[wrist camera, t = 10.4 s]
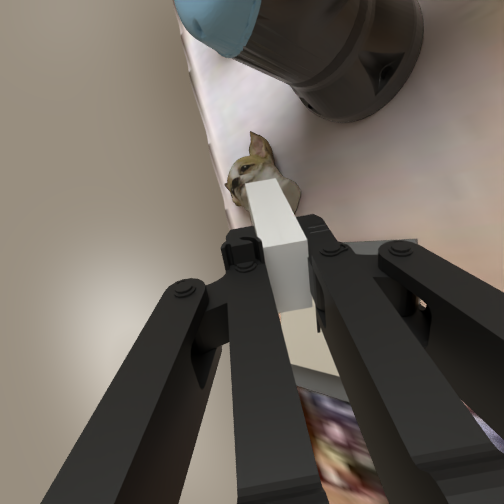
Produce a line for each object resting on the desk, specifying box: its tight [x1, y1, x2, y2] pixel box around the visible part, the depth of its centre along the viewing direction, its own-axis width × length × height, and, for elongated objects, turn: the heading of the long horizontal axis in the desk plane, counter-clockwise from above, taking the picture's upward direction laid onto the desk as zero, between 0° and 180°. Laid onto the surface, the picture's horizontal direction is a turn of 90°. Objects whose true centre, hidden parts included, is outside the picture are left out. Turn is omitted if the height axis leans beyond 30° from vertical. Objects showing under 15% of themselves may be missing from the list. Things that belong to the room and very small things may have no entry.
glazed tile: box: [281, 298, 340, 377], centre depth 43 cm, size 12×2×14 cm
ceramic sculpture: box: [224, 131, 301, 213], centre depth 48 cm, size 11×9×15 cm
